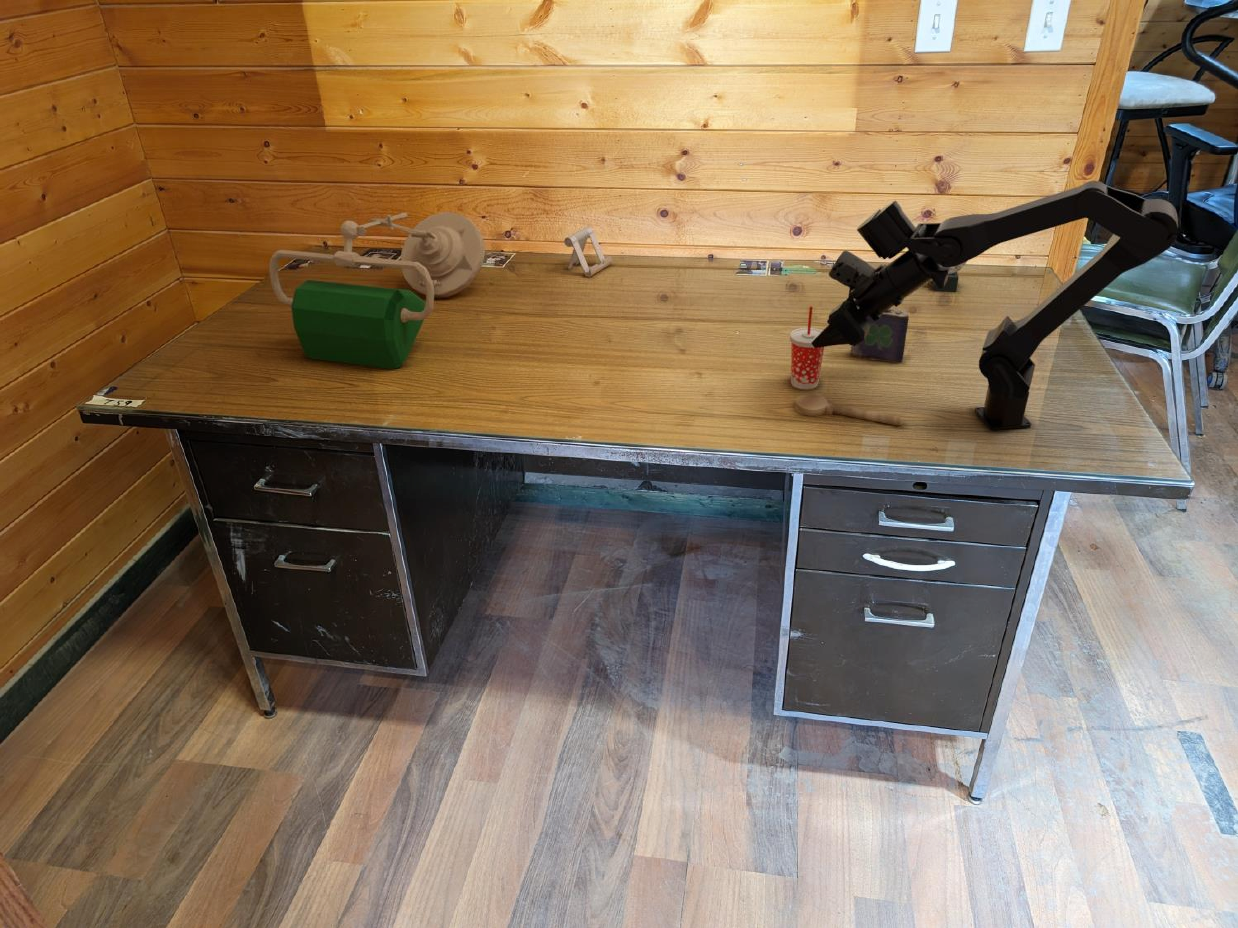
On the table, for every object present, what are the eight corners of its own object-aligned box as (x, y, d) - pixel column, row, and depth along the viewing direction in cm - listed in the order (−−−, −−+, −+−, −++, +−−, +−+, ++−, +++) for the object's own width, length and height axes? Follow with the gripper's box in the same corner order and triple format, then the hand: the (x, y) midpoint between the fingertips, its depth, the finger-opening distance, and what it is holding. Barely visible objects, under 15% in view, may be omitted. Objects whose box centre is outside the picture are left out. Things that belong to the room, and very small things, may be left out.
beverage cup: (809, 395, 150) (816, 317, 143) (779, 384, 154) (784, 308, 146) (829, 382, 154) (837, 305, 146) (799, 371, 158) (805, 296, 150)
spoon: (905, 418, 143) (906, 410, 142) (898, 433, 139) (899, 425, 138) (800, 398, 150) (801, 390, 149) (791, 412, 146) (791, 404, 145)
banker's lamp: (349, 393, 198) (232, 332, 161) (393, 218, 204) (291, 123, 168) (491, 413, 188) (401, 354, 151) (533, 229, 194) (456, 130, 158)
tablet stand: (591, 278, 199) (589, 241, 194) (562, 272, 202) (559, 236, 198) (612, 265, 205) (610, 229, 200) (583, 260, 209) (581, 224, 204)
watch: (922, 280, 191) (930, 229, 185) (962, 282, 189) (971, 231, 183) (924, 290, 186) (932, 239, 180) (965, 292, 184) (974, 240, 178)
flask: (848, 356, 162) (855, 300, 156) (852, 349, 164) (859, 294, 158) (901, 364, 158) (910, 308, 153) (904, 357, 161) (912, 301, 155)
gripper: (879, 221, 144) (806, 277, 154) (850, 259, 130) (772, 318, 140) (922, 274, 145) (847, 326, 155) (897, 318, 131) (817, 372, 141)
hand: (821, 334), depth 148 cm, fingers open, 9 cm apart
